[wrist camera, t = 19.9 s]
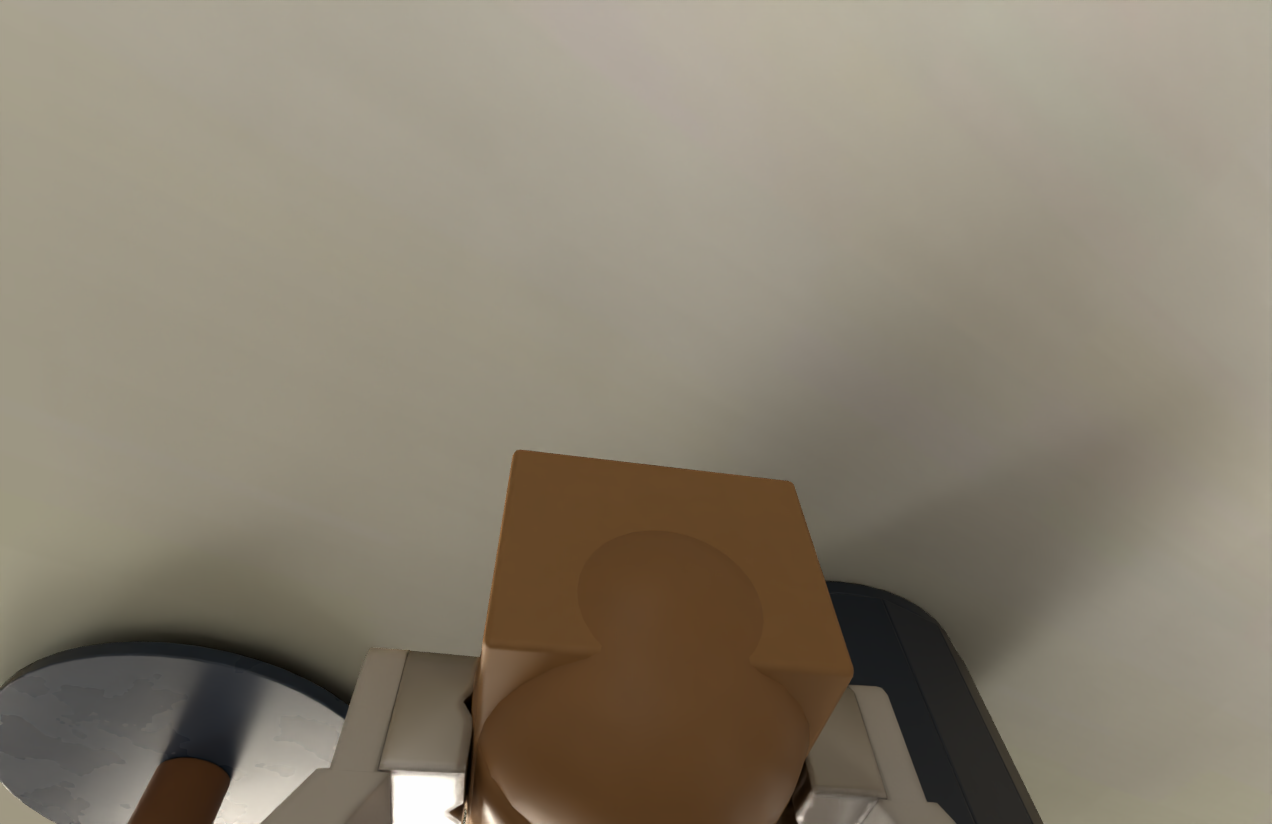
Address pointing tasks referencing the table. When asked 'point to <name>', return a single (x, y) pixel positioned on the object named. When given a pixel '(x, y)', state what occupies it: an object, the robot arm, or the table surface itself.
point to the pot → (932, 706)
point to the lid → (161, 735)
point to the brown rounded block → (649, 648)
